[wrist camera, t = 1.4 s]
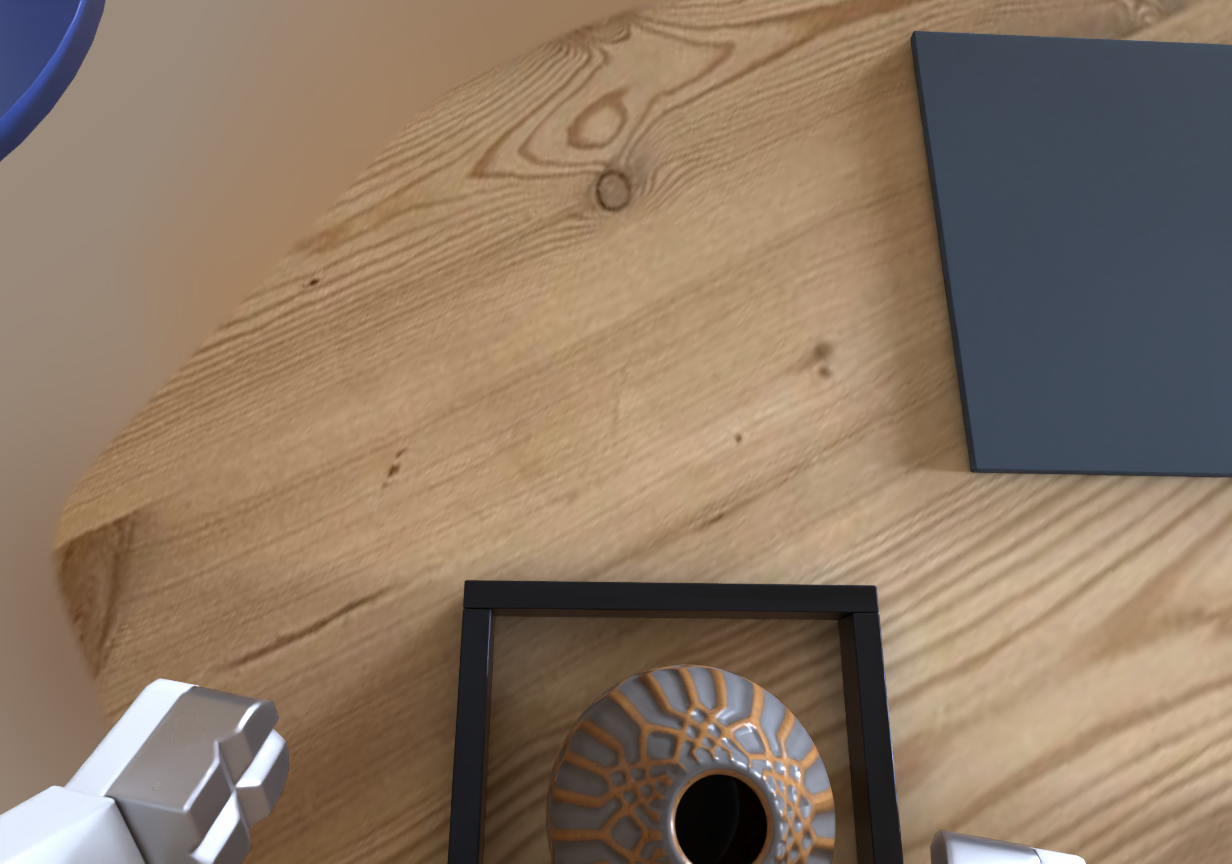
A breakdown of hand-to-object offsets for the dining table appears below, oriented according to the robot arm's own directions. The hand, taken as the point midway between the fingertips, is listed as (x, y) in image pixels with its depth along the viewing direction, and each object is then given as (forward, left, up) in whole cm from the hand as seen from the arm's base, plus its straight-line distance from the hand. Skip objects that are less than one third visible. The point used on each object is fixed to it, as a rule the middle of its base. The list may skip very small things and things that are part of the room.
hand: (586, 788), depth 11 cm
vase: (+3, -1, -16) cm, 16 cm away
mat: (+22, +18, -15) cm, 32 cm away
